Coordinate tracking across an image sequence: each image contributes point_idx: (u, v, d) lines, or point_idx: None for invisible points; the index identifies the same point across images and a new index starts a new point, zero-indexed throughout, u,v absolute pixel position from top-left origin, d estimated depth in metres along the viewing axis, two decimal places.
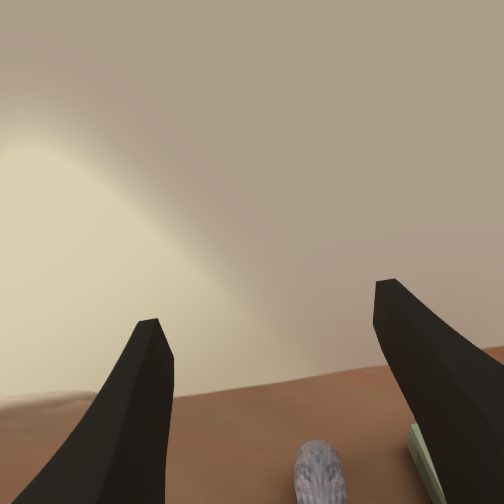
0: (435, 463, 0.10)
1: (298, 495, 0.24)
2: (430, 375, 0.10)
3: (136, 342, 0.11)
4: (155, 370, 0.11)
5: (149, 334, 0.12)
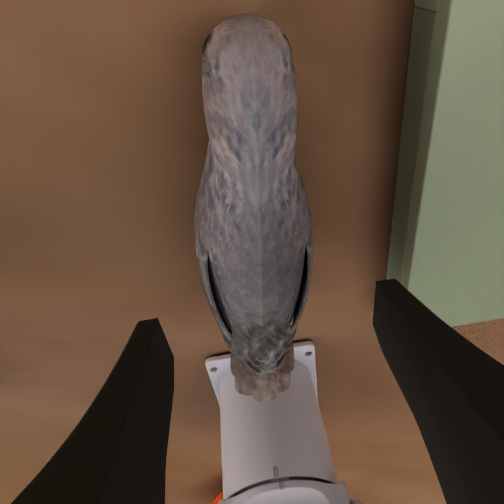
0: (435, 463, 0.10)
1: (216, 161, 0.14)
2: (430, 375, 0.10)
3: (136, 342, 0.11)
4: (155, 370, 0.11)
5: (149, 334, 0.12)
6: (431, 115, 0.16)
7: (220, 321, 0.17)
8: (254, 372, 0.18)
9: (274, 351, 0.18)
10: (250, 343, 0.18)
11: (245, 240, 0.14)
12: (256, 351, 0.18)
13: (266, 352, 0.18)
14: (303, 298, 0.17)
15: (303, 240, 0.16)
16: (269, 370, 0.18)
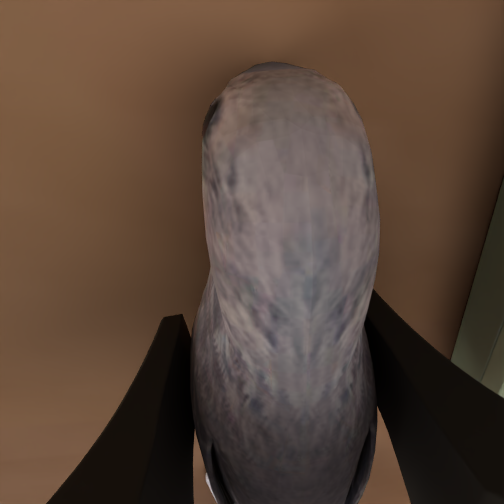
0: (402, 469, 0.10)
1: (227, 328, 0.08)
2: (395, 381, 0.10)
3: (163, 337, 0.11)
4: (182, 365, 0.11)
5: (176, 330, 0.12)
6: None
7: None
8: None
9: None
10: None
11: (278, 455, 0.08)
12: None
13: None
14: (359, 488, 0.11)
15: (369, 425, 0.10)
16: None
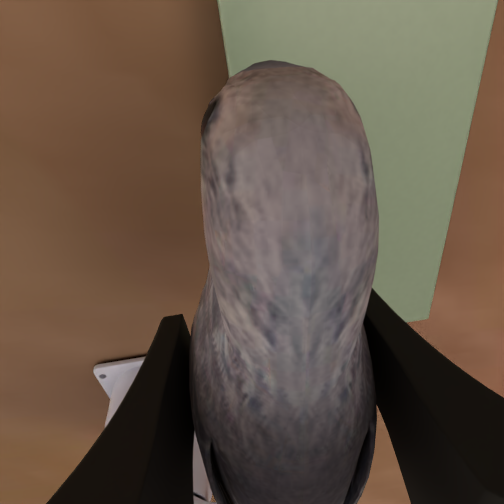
0: (403, 468, 0.10)
1: (226, 327, 0.08)
2: (395, 381, 0.10)
3: (163, 337, 0.11)
4: (182, 365, 0.11)
5: (176, 329, 0.12)
6: None
7: None
8: None
9: None
10: None
11: (277, 454, 0.08)
12: None
13: None
14: (359, 488, 0.11)
15: (368, 424, 0.10)
16: None
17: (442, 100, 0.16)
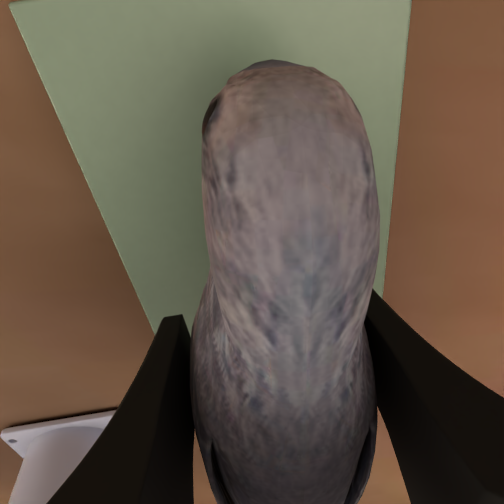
0: (402, 469, 0.10)
1: (227, 327, 0.08)
2: (395, 381, 0.10)
3: (163, 337, 0.11)
4: (182, 365, 0.11)
5: (176, 330, 0.12)
6: None
7: None
8: None
9: None
10: None
11: (278, 454, 0.08)
12: None
13: None
14: (359, 488, 0.11)
15: (369, 424, 0.10)
16: None
17: None
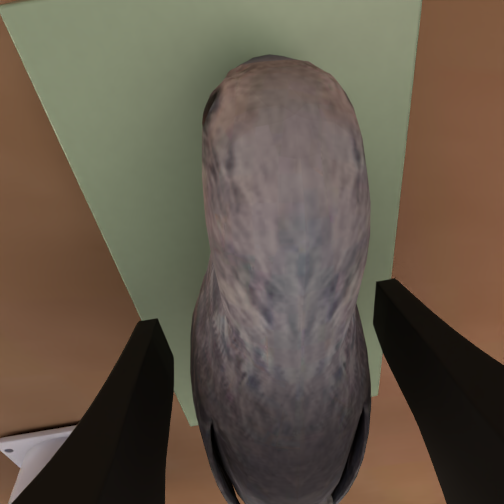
0: (435, 463, 0.10)
1: (226, 308, 0.08)
2: (430, 375, 0.10)
3: (136, 342, 0.11)
4: (155, 370, 0.11)
5: (149, 334, 0.12)
6: None
7: (229, 502, 0.12)
8: None
9: None
10: None
11: (275, 431, 0.09)
12: None
13: None
14: (354, 469, 0.12)
15: (362, 405, 0.10)
16: None
17: None
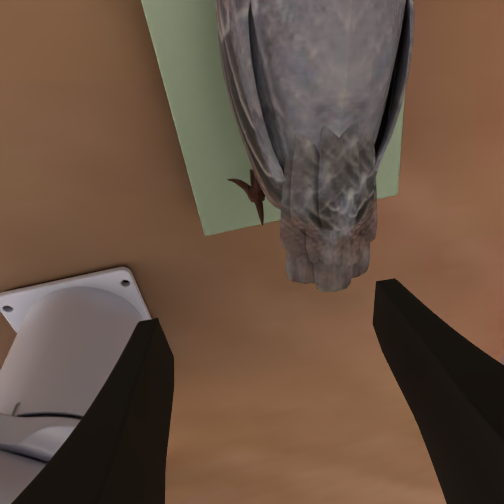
0: (435, 463, 0.10)
1: None
2: (430, 375, 0.10)
3: (136, 342, 0.11)
4: (155, 370, 0.11)
5: (149, 334, 0.12)
6: None
7: (267, 141, 0.11)
8: (320, 236, 0.12)
9: (354, 191, 0.11)
10: (316, 180, 0.11)
11: None
12: (326, 190, 0.11)
13: (343, 190, 0.11)
14: (398, 98, 0.11)
15: None
16: (346, 226, 0.11)
17: None
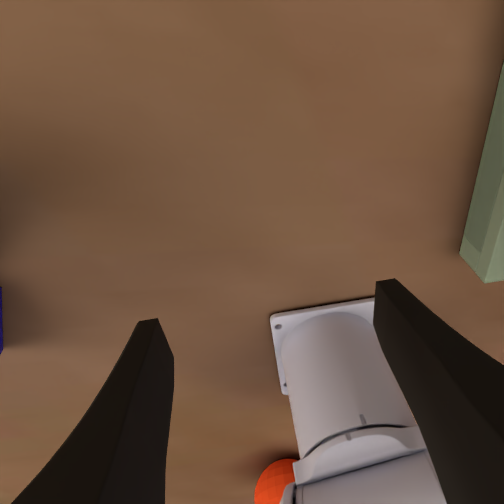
0: (435, 463, 0.10)
1: None
2: (430, 375, 0.10)
3: (136, 342, 0.11)
4: (155, 370, 0.11)
5: (149, 334, 0.12)
6: None
7: None
8: None
9: None
10: None
11: None
12: None
13: None
14: None
15: None
16: None
17: None
